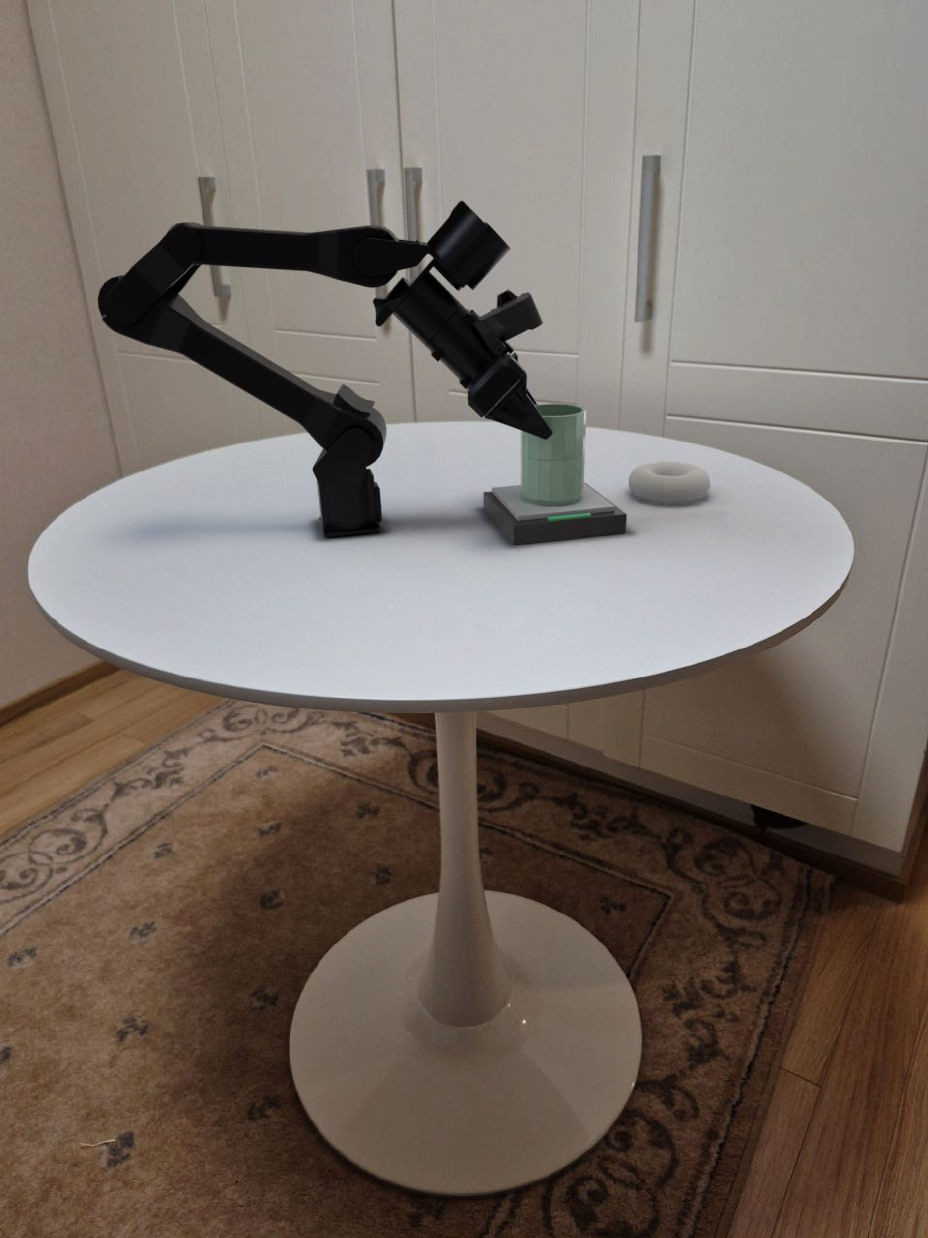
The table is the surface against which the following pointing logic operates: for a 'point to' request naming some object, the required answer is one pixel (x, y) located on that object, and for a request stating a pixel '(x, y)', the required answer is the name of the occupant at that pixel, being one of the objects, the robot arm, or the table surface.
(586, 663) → the table surface
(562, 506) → the scale
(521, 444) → the pale green cup
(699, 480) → the donut
